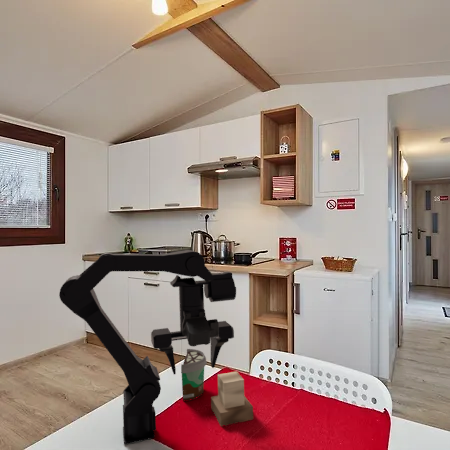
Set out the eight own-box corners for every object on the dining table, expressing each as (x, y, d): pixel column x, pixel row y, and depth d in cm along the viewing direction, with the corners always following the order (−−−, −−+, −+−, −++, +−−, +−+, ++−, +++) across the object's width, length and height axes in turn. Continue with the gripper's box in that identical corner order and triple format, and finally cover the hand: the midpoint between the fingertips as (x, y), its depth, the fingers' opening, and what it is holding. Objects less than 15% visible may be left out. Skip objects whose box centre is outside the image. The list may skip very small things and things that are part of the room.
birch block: (218, 398, 86) (217, 374, 86) (237, 395, 87) (236, 371, 87) (224, 408, 81) (223, 383, 81) (244, 404, 83) (243, 379, 83)
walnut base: (220, 426, 79) (220, 413, 79) (211, 409, 87) (210, 397, 87) (253, 419, 82) (252, 406, 82) (241, 402, 89) (240, 391, 89)
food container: (205, 403, 90) (204, 364, 90) (182, 404, 90) (180, 365, 90) (209, 381, 102) (208, 347, 102) (188, 382, 102) (187, 348, 102)
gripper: (155, 317, 71) (158, 393, 71) (241, 307, 77) (243, 378, 77) (149, 305, 82) (152, 371, 82) (225, 297, 87) (227, 359, 87)
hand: (193, 370), depth 82 cm, fingers open, 9 cm apart
